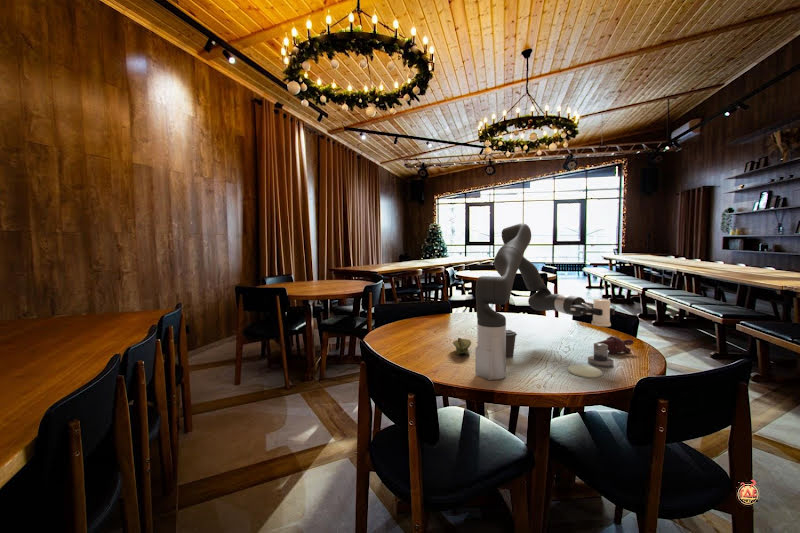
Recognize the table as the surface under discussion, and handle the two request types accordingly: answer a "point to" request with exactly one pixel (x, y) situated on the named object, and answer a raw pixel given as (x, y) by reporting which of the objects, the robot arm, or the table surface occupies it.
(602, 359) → the dark grey stepped piece
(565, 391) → the table surface
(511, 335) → the coffee cup
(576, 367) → the coaster
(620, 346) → the brown turtle figurine
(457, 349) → the fruit
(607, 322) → the cream white cylinder
